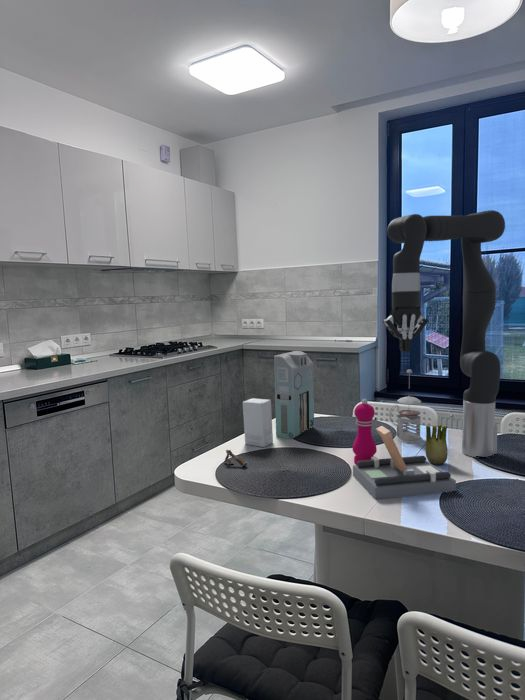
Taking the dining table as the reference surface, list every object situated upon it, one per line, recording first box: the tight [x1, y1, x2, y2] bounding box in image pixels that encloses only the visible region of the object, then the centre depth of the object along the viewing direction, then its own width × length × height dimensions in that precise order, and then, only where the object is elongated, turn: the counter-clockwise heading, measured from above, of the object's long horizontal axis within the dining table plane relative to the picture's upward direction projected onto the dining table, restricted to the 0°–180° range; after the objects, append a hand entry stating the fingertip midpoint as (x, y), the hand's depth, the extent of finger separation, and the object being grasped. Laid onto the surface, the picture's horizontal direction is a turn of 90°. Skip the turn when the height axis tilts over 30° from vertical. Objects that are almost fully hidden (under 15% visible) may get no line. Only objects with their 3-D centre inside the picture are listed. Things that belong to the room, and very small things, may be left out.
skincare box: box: [242, 397, 274, 448], centre depth 163 cm, size 8×7×16 cm
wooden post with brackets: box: [224, 449, 248, 468], centre depth 143 cm, size 2×8×4 cm, turn 56°
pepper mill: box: [352, 398, 377, 465], centre depth 142 cm, size 7×7×20 cm
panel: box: [352, 459, 457, 500], centre depth 126 cm, size 22×16×5 cm
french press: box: [388, 369, 424, 444], centre depth 163 cm, size 10×12×25 cm
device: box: [273, 350, 315, 439], centre depth 175 cm, size 16×8×30 cm, turn 147°
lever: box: [375, 425, 407, 473], centre depth 125 cm, size 2×6×13 cm, turn 9°
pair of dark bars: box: [356, 455, 452, 485], centre depth 126 cm, size 21×15×2 cm
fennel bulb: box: [425, 424, 449, 466], centre depth 140 cm, size 6×5×12 cm
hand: (405, 352), depth 130 cm, fingers closed
